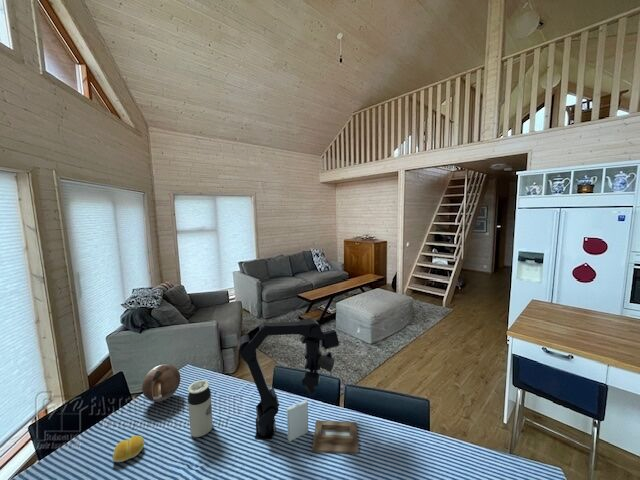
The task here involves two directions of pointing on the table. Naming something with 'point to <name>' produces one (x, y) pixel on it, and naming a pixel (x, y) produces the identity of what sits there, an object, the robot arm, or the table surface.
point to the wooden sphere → (161, 382)
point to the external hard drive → (297, 420)
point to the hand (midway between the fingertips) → (313, 387)
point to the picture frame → (335, 437)
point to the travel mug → (200, 408)
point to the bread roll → (128, 448)
